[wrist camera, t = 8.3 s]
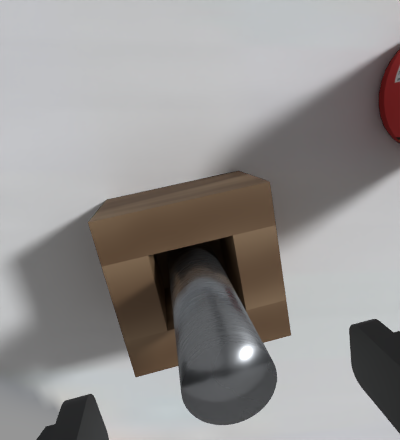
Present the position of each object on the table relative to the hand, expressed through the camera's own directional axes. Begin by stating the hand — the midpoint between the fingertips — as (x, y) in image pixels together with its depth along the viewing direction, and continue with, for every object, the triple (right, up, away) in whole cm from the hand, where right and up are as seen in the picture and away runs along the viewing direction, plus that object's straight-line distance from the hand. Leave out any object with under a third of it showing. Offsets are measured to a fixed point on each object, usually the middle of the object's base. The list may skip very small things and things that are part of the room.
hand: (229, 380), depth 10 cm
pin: (-2, +3, +12) cm, 12 cm away
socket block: (-2, +3, +13) cm, 13 cm away
